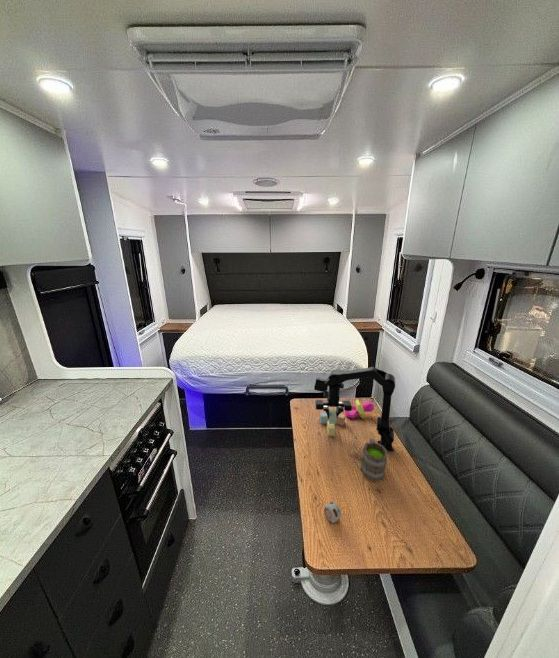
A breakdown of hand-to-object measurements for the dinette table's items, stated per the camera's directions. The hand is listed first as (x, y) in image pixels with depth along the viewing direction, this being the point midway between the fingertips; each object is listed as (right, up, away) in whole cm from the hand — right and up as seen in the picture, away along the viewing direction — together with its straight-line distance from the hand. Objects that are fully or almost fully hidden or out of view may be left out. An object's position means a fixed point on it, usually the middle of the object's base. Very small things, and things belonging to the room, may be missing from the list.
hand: (331, 418), depth 140 cm
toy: (+20, -4, +18) cm, 27 cm away
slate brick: (-2, -6, +11) cm, 13 cm away
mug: (+15, -16, -20) cm, 29 cm away
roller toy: (-9, -23, -42) cm, 49 cm away
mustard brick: (0, -9, +3) cm, 9 cm away
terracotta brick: (+6, -6, +11) cm, 14 cm away
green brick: (0, -1, 0) cm, 1 cm away
